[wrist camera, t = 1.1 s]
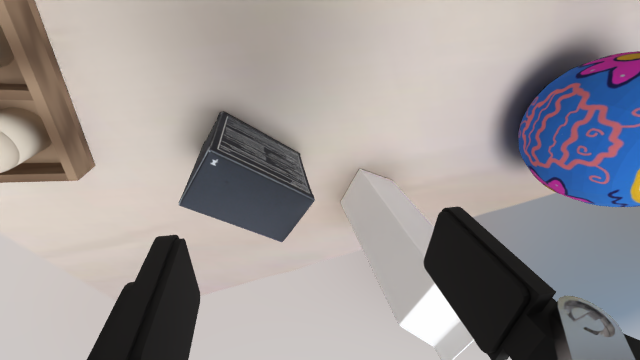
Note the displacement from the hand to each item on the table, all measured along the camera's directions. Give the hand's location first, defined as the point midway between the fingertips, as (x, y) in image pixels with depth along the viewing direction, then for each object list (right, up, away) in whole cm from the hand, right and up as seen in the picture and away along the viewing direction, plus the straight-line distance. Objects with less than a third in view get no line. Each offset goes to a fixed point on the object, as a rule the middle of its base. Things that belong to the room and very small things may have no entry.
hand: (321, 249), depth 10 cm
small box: (-8, +6, +23) cm, 25 cm away
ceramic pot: (+33, +12, +29) cm, 45 cm away
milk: (+7, +1, +29) cm, 30 cm away
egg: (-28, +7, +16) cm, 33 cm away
